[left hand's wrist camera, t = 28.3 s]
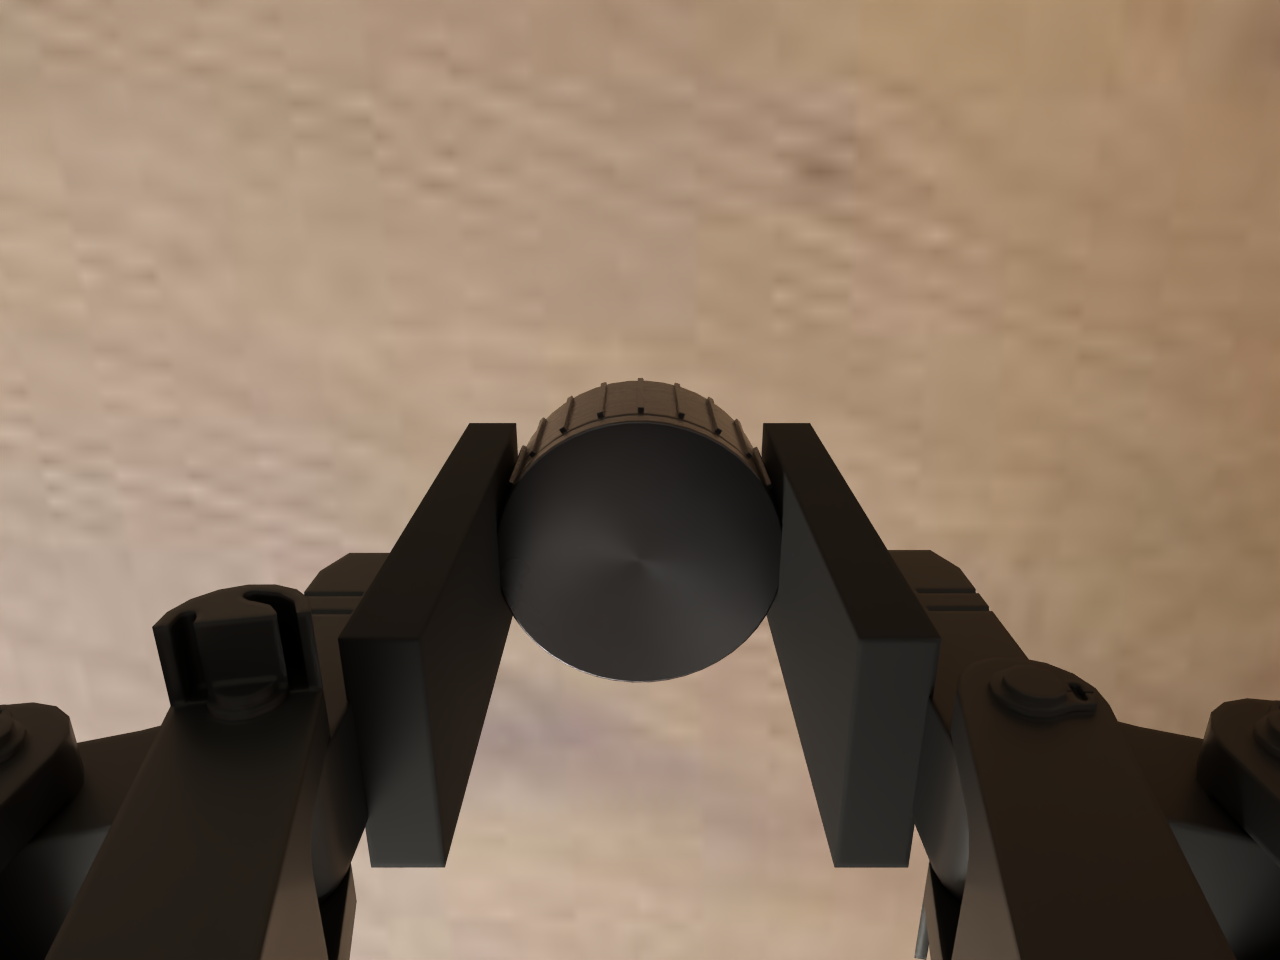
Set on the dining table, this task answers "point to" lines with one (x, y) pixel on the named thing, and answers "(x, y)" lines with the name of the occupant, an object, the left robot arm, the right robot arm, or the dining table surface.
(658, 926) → the dining table surface
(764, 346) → the dining table surface
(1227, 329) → the dining table surface
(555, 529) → the cap
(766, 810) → the dining table surface
